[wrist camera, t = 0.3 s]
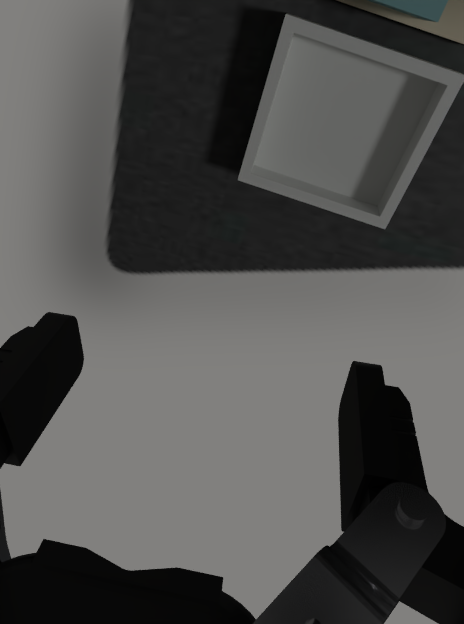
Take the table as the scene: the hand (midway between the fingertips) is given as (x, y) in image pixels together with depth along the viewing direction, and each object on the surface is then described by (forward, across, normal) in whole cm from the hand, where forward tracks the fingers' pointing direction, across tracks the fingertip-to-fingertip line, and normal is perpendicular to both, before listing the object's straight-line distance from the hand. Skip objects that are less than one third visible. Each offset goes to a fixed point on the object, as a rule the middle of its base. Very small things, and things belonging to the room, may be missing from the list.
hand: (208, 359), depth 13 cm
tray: (+27, -4, -1) cm, 27 cm away
